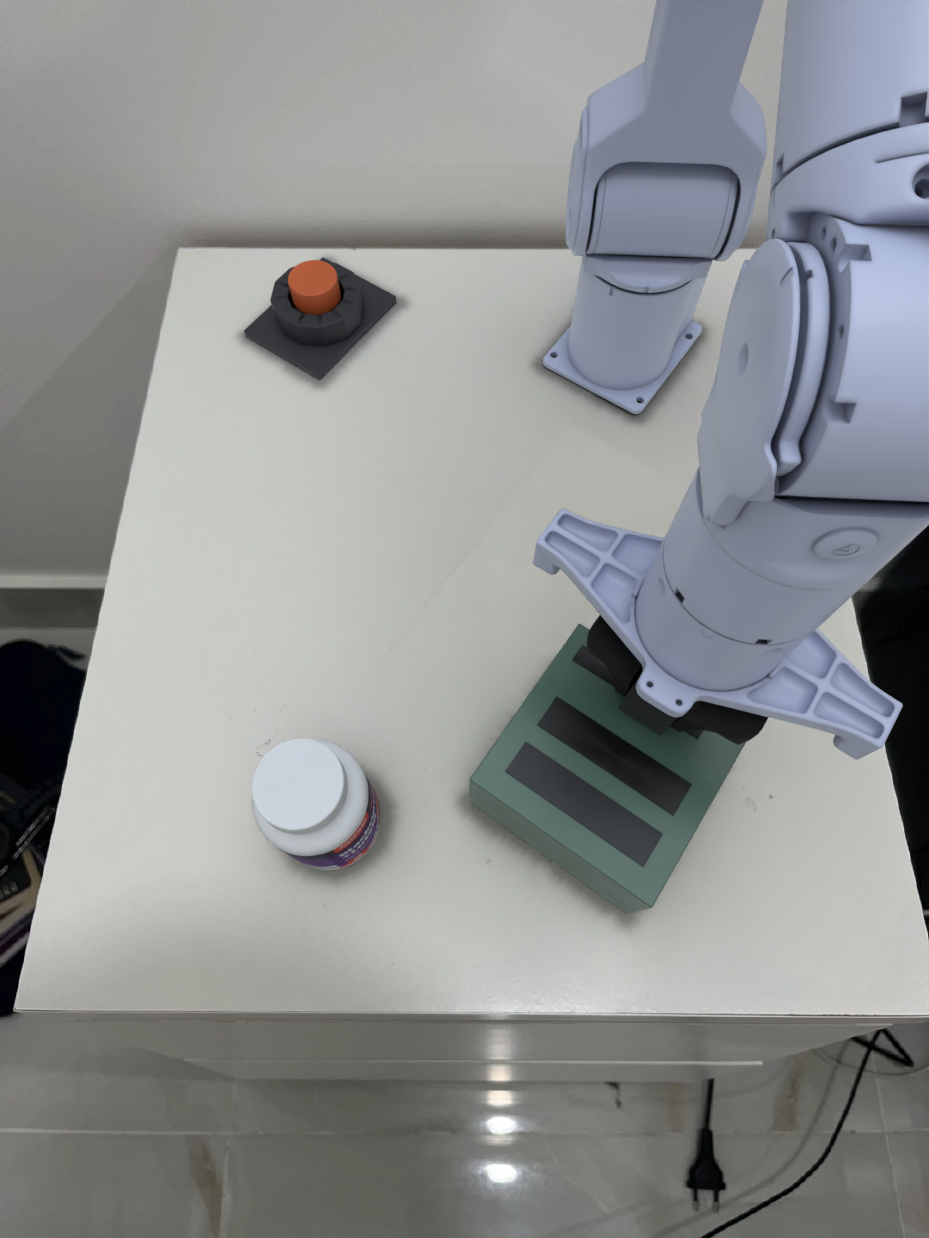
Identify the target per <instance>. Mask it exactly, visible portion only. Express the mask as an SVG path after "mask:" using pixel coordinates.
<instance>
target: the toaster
mask: <svg viewBox="0 0 929 1238" xmlns="http://www.w3.org/2000/svg"><path fill="white" fill-rule="evenodd" d="M576 625H577V626H576V627H575V628H574V630H573V631H572V632H571V634H570V636H568V637H567V639H566V641H565V642H564V644H563V645H562V647H561V648H560V649H559V651H558V652H557V654H556V655H555V656H554V658H553V659H552V661H551V662H550V663H549V665H548V666H547V668H546V669H545V671H544V672H543V673H542V675H541V676H540V678H539V680H537V682H536V684H535V685H534V686H533V687H532V689H531V691H530V692H529V693H528V695H527V696H526V698H525V699H524V700H523V702H522V703H521V705H520V706H519V708H518V709H517V711H516V712H515V713H514V715H513V716H512V718H511V719H510V721H508V723H507V724H506V727H504V729H503V731H502V732H501V733H500V735H499V736H498V738H497V739H496V741H495V742H494V743H493V745H492V746H491V748H490V749H489V750H488V752H487V753H486V755H485V756H484V758H483V759H482V760H481V762H480V763H479V765H478V766H477V768H476V769H475V770H474V772H473V773H472V775H471V776H470V778H469V804H471V805H472V806H474V807H475V808H477V809H478V810H479V811H481V812H482V813H484V814H485V815H486V816H487V817H489V818H490V819H492V820H494V821H495V822H496V823H497V824H499V825H500V826H502V827H503V828H505V830H507V831H509V832H510V833H511V834H513V835H514V836H516V837H517V838H518V839H520V840H521V841H523V842H524V843H526V844H527V845H528V846H530V847H531V848H533V849H534V850H536V851H537V852H538V853H540V854H541V855H543V856H544V857H545V858H546V859H548V860H550V861H551V862H552V863H554V864H555V865H556V866H558V867H559V868H560V869H562V870H564V871H565V872H566V873H568V874H569V875H571V876H572V877H573V878H574V879H576V880H577V881H578V882H580V883H582V884H583V885H584V886H586V887H587V888H588V889H590V890H592V891H593V892H594V893H596V894H597V895H599V896H600V897H601V898H602V899H604V900H606V901H607V902H608V903H610V904H611V905H612V906H614V907H615V908H617V909H618V910H620V912H622V913H624V914H625V915H628V914H632V913H636V912H640V911H644V910H648V909H652V908H653V907H654V905H655V903H656V902H657V901H658V899H659V897H660V895H661V893H662V892H663V889H664V888H665V886H666V884H667V883H668V881H669V879H670V877H671V876H672V874H673V872H674V870H675V869H676V867H677V865H678V863H679V862H680V859H681V858H682V856H683V854H684V852H685V851H686V849H687V847H688V845H689V844H690V842H691V841H692V838H693V837H694V835H695V834H696V831H697V830H698V828H699V827H700V825H701V823H702V821H703V819H704V818H705V816H706V814H707V812H708V810H709V809H710V807H711V805H712V803H713V802H714V800H715V799H716V796H717V794H718V793H719V792H720V789H721V787H722V786H723V784H724V782H725V780H726V779H727V776H728V775H729V774H730V772H731V770H732V768H733V766H734V765H735V762H736V761H737V759H738V758H739V756H740V754H741V752H742V751H743V749H744V747H745V745H746V743H747V742H745V743H743V744H740V745H737V744H735V743H733V742H731V741H729V740H727V739H726V738H724V737H722V736H721V735H719V734H717V733H714V732H710V731H704V730H690V731H680V732H678V731H677V730H675V729H674V728H672V727H670V726H669V727H668V728H667V730H666V731H665V732H664V733H663V734H662V735H659V734H657V733H656V732H654V731H653V730H651V729H649V728H648V727H646V726H645V725H643V724H642V723H640V722H638V721H637V720H635V719H634V718H632V717H631V716H629V715H628V714H626V713H624V712H623V711H621V710H620V709H619V706H620V705H621V703H622V702H623V700H624V698H625V697H623V696H621V695H620V694H618V693H617V692H615V689H614V684H613V680H612V677H611V674H610V672H609V670H608V668H607V667H606V665H605V664H604V663H603V662H602V661H601V660H599V659H598V658H596V657H595V656H593V655H592V654H591V653H589V652H588V651H587V636H588V632H589V630H590V628H588V627H586V626H585V625H583V624H582V623H578V624H576Z"/></svg>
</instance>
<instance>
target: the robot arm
mask: <svg viewBox="0 0 929 1238" xmlns="http://www.w3.org/2000/svg"><path fill="white" fill-rule="evenodd" d="M764 1H765V0H655V6H654V11H653V16H652V21H651V25H650V32H649V37H648V41H647V45H646V46H647V47H646V51H645V57H644V61H643V62H641V63H640V64H638V65H636V66H635V67H633V68H632V69H630V70H628V71H626V72H625V73H623V74H621V75H619V76H618V77H616V78H614V79H612V80H611V81H609V82H608V83H605V84H604V85H602V86H600V87H599V88H597V89H596V90H595V91H593V92H591V93H590V95H588V97H587V99H586V106H585V107H583V108H582V110H581V113H580V118H579V119H580V120H579V126H578V130H577V131H578V132H577V138H576V140H575V141H574V143H573V148H572V153H571V159H570V167H569V174H568V183H567V194H566V207H565V208H566V209H565V231H564V232H565V233H564V234H565V244H566V246H567V247H568V249H569V250H570V251H571V253H572V255H573V256H574V257H581V259H580V260H581V261H580V267H579V273H578V278H577V279H578V280H577V284H576V285H577V286H576V291H575V298H574V303H573V310H572V316H571V322H570V326H569V327H568V328H567V329H566V331H565V332H564V333H563V334H562V335H561V336H560V337H559V339H558V340H557V341H556V342H555V343H554V345H553V346H552V347H551V348H550V349H549V350H548V351H547V353H546V354H545V355H544V356H543V357H542V365H543V366H544V367H545V368H546V369H548V370H550V371H552V372H553V373H556V374H558V375H559V376H561V377H563V378H565V379H567V380H569V381H571V382H572V383H574V384H576V385H578V386H580V387H582V388H583V389H585V390H587V391H589V392H591V393H593V394H595V395H596V396H599V397H601V398H602V399H604V400H606V401H609V402H610V403H612V404H614V405H615V406H618V407H619V408H621V409H623V410H626V411H627V412H629V413H630V414H633V415H639V414H641V413H642V412H643V411H644V410H645V408H646V407H647V406H648V405H649V403H650V401H651V400H652V399H653V397H655V395H656V394H657V392H658V391H659V390H660V389H661V387H662V386H663V384H664V383H665V382H666V380H667V379H668V378H669V377H670V375H671V374H672V372H673V371H674V370H675V369H676V368H677V366H678V365H679V363H680V362H681V360H682V359H683V358H684V357H685V356H686V354H687V353H688V352H689V350H690V349H691V347H692V346H693V345H694V344H695V342H696V341H697V339H698V338H699V337H700V335H701V334H702V331H703V326H702V325H701V324H700V323H698V322H696V321H695V320H693V318H694V314H695V312H696V309H697V306H698V303H699V302H700V301H699V300H700V298H701V295H702V292H703V289H704V286H705V284H706V280H707V278H708V275H709V272H710V269H711V266H712V264H713V261H715V262H726V261H727V260H728V259H730V258H731V256H733V255H734V253H735V252H736V251H737V250H738V249H739V248H740V247H741V245H742V243H743V241H744V239H745V238H746V235H747V232H748V230H749V227H750V225H751V221H752V217H753V214H754V209H755V205H756V201H757V200H756V199H757V194H758V186H759V182H760V178H761V174H762V171H763V168H764V165H765V162H766V159H767V154H768V137H767V129H766V122H765V115H764V112H763V111H764V110H763V108H762V105H761V104H760V102H759V101H758V99H757V98H756V97H755V95H754V94H753V93H751V92H750V91H749V90H748V89H747V88H746V87H745V86H744V85H743V84H742V83H741V82H740V80H741V76H742V73H743V70H744V66H745V64H746V59H747V57H748V54H749V51H750V47H751V45H752V41H753V38H754V34H755V30H756V27H757V25H758V21H759V17H760V14H761V12H762V8H763V6H764V5H763V4H764ZM785 16H786V17H785V25H784V26H785V27H784V38H783V45H782V46H783V47H782V57H781V71H780V81H779V91H778V100H777V112H776V123H775V124H776V125H775V135H774V146H773V157H772V167H771V168H772V169H771V179H770V190H769V192H770V193H769V200H768V208H767V219H766V220H767V221H766V230H765V241H764V242H763V243H761V245H760V246H758V247H757V248H756V250H755V251H754V253H753V254H752V255H751V257H750V258H749V259H743V262H742V265H741V268H740V270H739V274H738V276H737V280H736V282H735V285H734V288H733V292H732V295H731V299H730V303H729V306H728V310H727V315H726V319H725V322H724V323H725V324H724V328H723V333H722V339H721V343H720V348H719V349H720V350H719V356H718V361H717V367H716V371H715V376H714V379H713V383H712V386H711V389H710V392H709V394H708V397H707V400H706V402H705V404H704V406H703V409H702V411H701V414H700V415H701V416H700V417H701V420H700V425H699V427H698V430H697V437H696V443H697V456H698V457H697V458H698V467H697V469H696V471H695V473H694V475H693V477H692V479H691V481H690V484H689V485H688V488H687V489H686V492H685V494H684V496H683V499H682V500H681V502H680V505H679V506H678V509H677V511H676V512H675V515H674V517H673V518H672V521H671V523H670V526H669V527H668V529H667V532H666V533H665V535H664V537H661V536H656V535H652V534H648V533H647V534H646V533H644V532H639V531H635V530H630V529H625V528H621V527H616V526H612V525H607V524H604V523H600V522H597V521H594V520H590V519H588V518H585V517H583V516H580V515H578V514H577V513H574V512H573V511H571V510H568V509H567V508H565V507H561V508H560V509H559V511H558V512H557V513H556V514H555V516H554V517H553V518H552V519H551V521H550V522H549V524H548V525H547V526H546V528H545V529H544V530H543V532H542V533H541V534H540V536H539V537H538V538H537V539H536V542H535V548H534V553H533V558H532V559H533V560H532V565H533V566H535V567H537V568H539V569H540V570H541V571H543V572H545V573H546V574H549V575H550V576H551V575H557V574H558V573H559V571H561V572H562V573H563V574H564V575H565V576H566V577H567V578H568V579H569V580H570V581H571V582H572V584H573V585H574V586H575V587H576V588H577V590H579V591H580V593H581V594H582V595H583V596H584V597H585V599H586V601H588V602H589V603H590V605H591V606H592V607H593V608H594V610H595V611H596V612H597V613H598V614H599V615H598V616H597V618H596V619H595V621H594V622H593V623H592V625H591V626H590V628H589V629H590V630H589V632H588V636H587V651H588V652H589V653H591V654H592V655H593V656H595V657H596V658H598V659H599V660H601V661H602V662H603V663H604V664H605V665H606V667H607V668H608V670H609V672H610V674H611V677H612V680H613V684H614V689H615V692H617V693H618V694H620V695H621V696H623V697H626V695H627V693H628V692H629V690H630V688H631V687H632V685H633V684H634V682H635V680H636V679H637V677H638V676H639V674H640V673H641V671H642V670H643V672H642V674H641V676H640V677H639V679H638V681H637V684H636V690H637V694H638V695H639V696H640V697H641V698H642V699H644V700H645V701H647V702H648V703H650V704H651V705H653V706H655V707H656V708H658V709H659V710H661V711H663V712H664V713H666V714H667V715H669V716H672V717H675V718H676V717H677V718H676V719H675V720H674V722H673V723H672V724H671V725H670V727H672V728H674V729H675V730H677V731H678V732H680V731H690V730H704V731H710V732H714V733H717V734H719V735H721V736H722V737H724V738H726V739H727V740H729V741H731V742H733V743H735V744H737V745H740V744H743V743H745V742H746V743H747V742H750V741H751V740H752V739H754V738H755V737H757V736H758V735H759V734H760V733H761V731H762V730H763V728H764V727H765V725H766V723H767V722H768V720H769V719H774V720H778V721H782V722H785V723H789V724H793V725H798V726H802V727H806V728H810V729H814V730H819V731H821V732H825V733H829V734H832V735H834V736H833V739H832V743H833V746H834V747H835V748H836V749H837V750H839V751H840V752H842V753H843V754H845V755H847V756H849V757H850V758H852V759H854V760H856V761H858V760H861V759H862V758H864V757H866V756H868V755H871V754H872V753H875V752H876V751H878V750H880V749H882V748H884V745H885V743H886V741H887V739H888V738H889V735H890V733H891V731H892V729H893V728H894V725H895V723H896V721H897V719H898V717H899V715H900V714H901V713H900V712H901V710H902V709H903V706H904V705H903V703H902V702H901V701H899V700H897V699H895V698H894V697H893V696H891V695H889V694H888V693H886V692H885V691H884V690H882V689H880V688H879V687H878V686H877V685H875V684H874V683H873V682H872V681H870V680H869V678H867V677H866V676H865V675H864V674H863V673H862V672H861V671H860V670H859V669H858V668H856V666H855V665H854V664H853V663H852V662H851V661H850V660H849V659H848V658H847V657H846V656H845V655H844V654H843V653H842V652H841V651H840V650H839V649H838V648H837V646H836V645H835V644H834V643H832V641H830V639H829V638H828V637H827V636H826V635H825V634H824V633H823V632H822V631H821V630H820V629H819V627H820V626H821V625H822V624H824V623H825V622H827V620H828V619H829V618H831V616H833V615H834V613H836V612H837V611H838V610H839V609H840V608H841V607H843V605H844V604H846V602H848V600H850V599H851V597H853V596H854V595H855V594H856V593H857V592H858V591H859V590H861V589H862V587H864V585H866V584H867V583H868V582H869V581H870V580H871V579H872V578H873V577H875V575H876V574H878V572H880V571H881V570H882V569H883V568H885V566H886V565H887V564H888V563H889V562H890V561H892V560H893V559H894V558H896V556H897V555H898V554H900V553H901V551H902V550H903V549H905V547H907V546H908V545H909V544H910V543H911V542H912V541H914V539H915V538H916V537H917V536H919V535H920V534H921V533H922V532H923V531H924V530H925V529H926V528H927V527H928V526H929V0H787V2H786V15H785ZM746 743H745V744H746Z"/></svg>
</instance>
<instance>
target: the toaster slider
mask: <svg viewBox="0 0 929 1238" xmlns="http://www.w3.org/2000/svg"><path fill="white" fill-rule="evenodd" d="M642 672H643V670H642V671H641V673H640V674H639V676H638V677H637V679H636V680H635V682H634V684H633V685H632V687H631V688H630V690H629V692H628V693H627V695H626V697H625V698H624V700H623V702H622V703H621V705H620V706H619V709H620V710H621V711H623V712H624V713H626V714H628V715H629V716H631V717H632V718H634V719H635V720H637V721H638V722H640V723H642V724H643V725H645V726H646V727H648V728H649V729H651V730H653V731H654V732H656V733H657V734H659V735H662V734H663V733H664V732H665V731H666V730H667V728H668V727H669V726H670V725H671V724H672V723H673V722H674V720H675V719H676V718H677V717H676V718H675V717H672V716H669V715H667V714H666V713H664V712H663V711H661V710H659V709H658V708H656V707H655V706H653V705H651V704H650V703H648V702H647V701H645V700H644V699H642V698H641V697H640V696H639V695H638V694H637V690H636V684H637V681H638V679H639V677H640V676H641V674H642Z"/></svg>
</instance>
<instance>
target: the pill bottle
mask: <svg viewBox="0 0 929 1238" xmlns="http://www.w3.org/2000/svg"><path fill="white" fill-rule="evenodd" d="M251 810H252V815H253V819H254V822H255V825H256V826H257V828H258V829H259V832H260V833H261V834H262V835H263V837H264V838H265V839H266V841H268V842H269V843H270V844H271V845H272V846H273V847H275V848H276V849H279V850H280V851H281V852H283V853H285V854H286V855H288V856H290V858H291V857H292V858H293V859H295V860H296V861H298V862H300V863H302V864H304V865H305V866H307V867H310V868H312V869H316V870H320V871H335V870H342V869H344V868H347V867H349V866H352V865H353V864H355V863H357V862H359V861H360V860H361V859H362V858H363V857H365V855H366V854H368V852H369V851H370V850H371V849H372V847H373V846H374V844H375V842H376V840H377V839H378V836H379V833H380V829H381V826H382V825H381V824H382V809H381V804H380V800H379V797H378V794H377V792H376V791H375V789H374V787H373V786H372V784H371V782H370V780H369V778H368V775H367V774H366V772H365V770H364V767H362V765H361V764H360V762H359V760H357V758H356V757H355V755H353V753H352V752H350V751H349V750H348V749H347V748H345V747H344V746H342V745H341V744H339V743H337V742H335V741H332V740H328V739H323V738H307V737H306V738H305V737H299V738H298V737H297V738H292V739H287V740H285V741H282V742H280V743H278V744H277V745H275V746H273V747H272V748H270V750H267V752H266V753H265V754H264V755H263V756H262V758H260V760H259V762H258V763H257V765H256V767H255V769H254V773H253V774H252V779H251Z"/></svg>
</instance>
